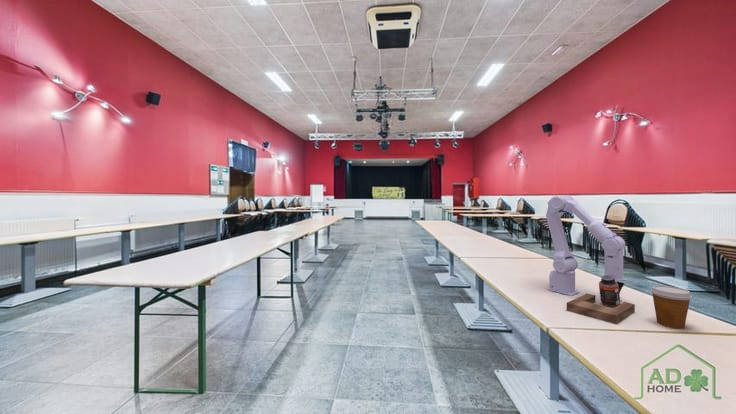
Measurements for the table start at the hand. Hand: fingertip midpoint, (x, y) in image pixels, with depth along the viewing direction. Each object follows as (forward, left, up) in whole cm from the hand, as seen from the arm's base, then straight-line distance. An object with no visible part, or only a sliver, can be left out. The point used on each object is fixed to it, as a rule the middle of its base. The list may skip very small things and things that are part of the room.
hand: (614, 300), depth 113 cm
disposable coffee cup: (+17, -8, -2) cm, 19 cm away
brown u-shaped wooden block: (0, -13, -2) cm, 13 cm away
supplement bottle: (0, -3, -1) cm, 3 cm away
